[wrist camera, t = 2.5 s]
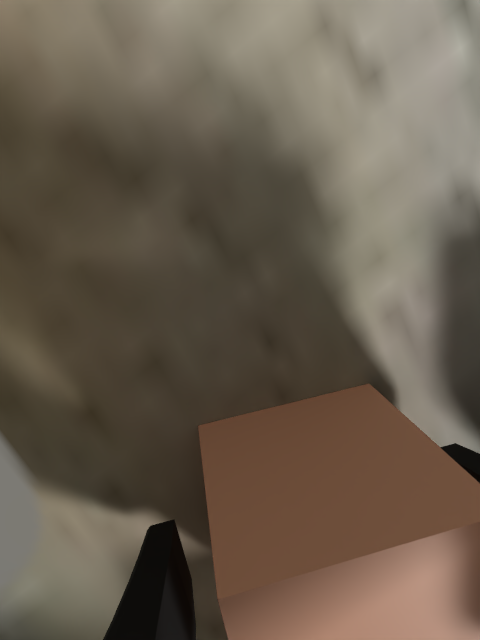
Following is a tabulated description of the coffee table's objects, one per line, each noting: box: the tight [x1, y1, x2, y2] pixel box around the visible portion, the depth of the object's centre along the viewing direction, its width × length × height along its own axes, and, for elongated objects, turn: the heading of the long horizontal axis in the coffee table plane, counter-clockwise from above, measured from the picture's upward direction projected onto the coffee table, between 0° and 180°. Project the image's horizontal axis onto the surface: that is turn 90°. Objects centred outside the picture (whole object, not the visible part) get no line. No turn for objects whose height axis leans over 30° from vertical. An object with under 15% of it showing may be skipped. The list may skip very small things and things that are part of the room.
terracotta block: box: [198, 384, 480, 640], centre depth 9 cm, size 5×5×5 cm
